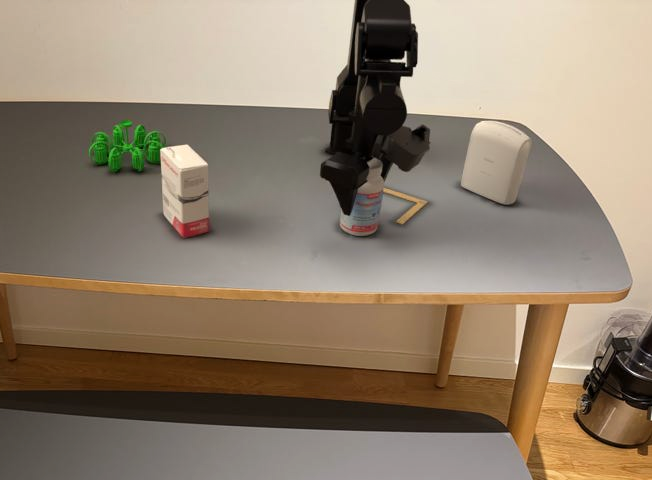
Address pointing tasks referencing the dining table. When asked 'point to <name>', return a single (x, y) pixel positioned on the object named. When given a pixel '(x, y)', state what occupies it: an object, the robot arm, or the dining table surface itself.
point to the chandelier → (127, 147)
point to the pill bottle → (366, 204)
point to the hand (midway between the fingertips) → (361, 203)
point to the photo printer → (496, 161)
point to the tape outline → (415, 208)
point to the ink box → (185, 190)
